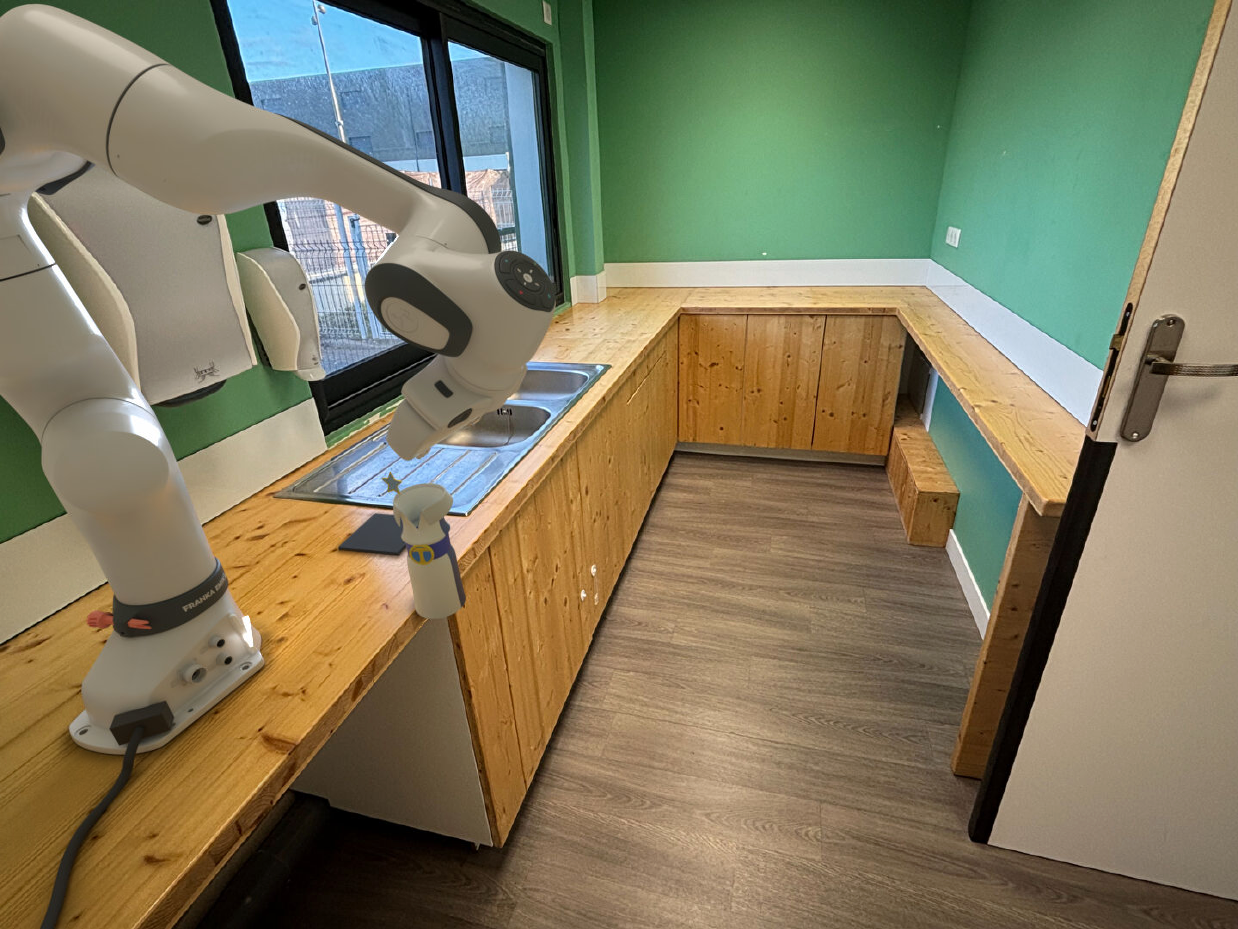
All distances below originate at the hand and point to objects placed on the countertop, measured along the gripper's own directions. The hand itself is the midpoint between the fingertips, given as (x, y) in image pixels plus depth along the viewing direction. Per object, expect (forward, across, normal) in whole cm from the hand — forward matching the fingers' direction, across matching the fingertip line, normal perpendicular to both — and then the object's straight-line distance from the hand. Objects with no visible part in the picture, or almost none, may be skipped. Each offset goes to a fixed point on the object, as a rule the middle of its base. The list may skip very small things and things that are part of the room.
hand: (445, 436), depth 80 cm
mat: (+42, -3, -3) cm, 42 cm away
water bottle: (+25, +6, +15) cm, 30 cm away
